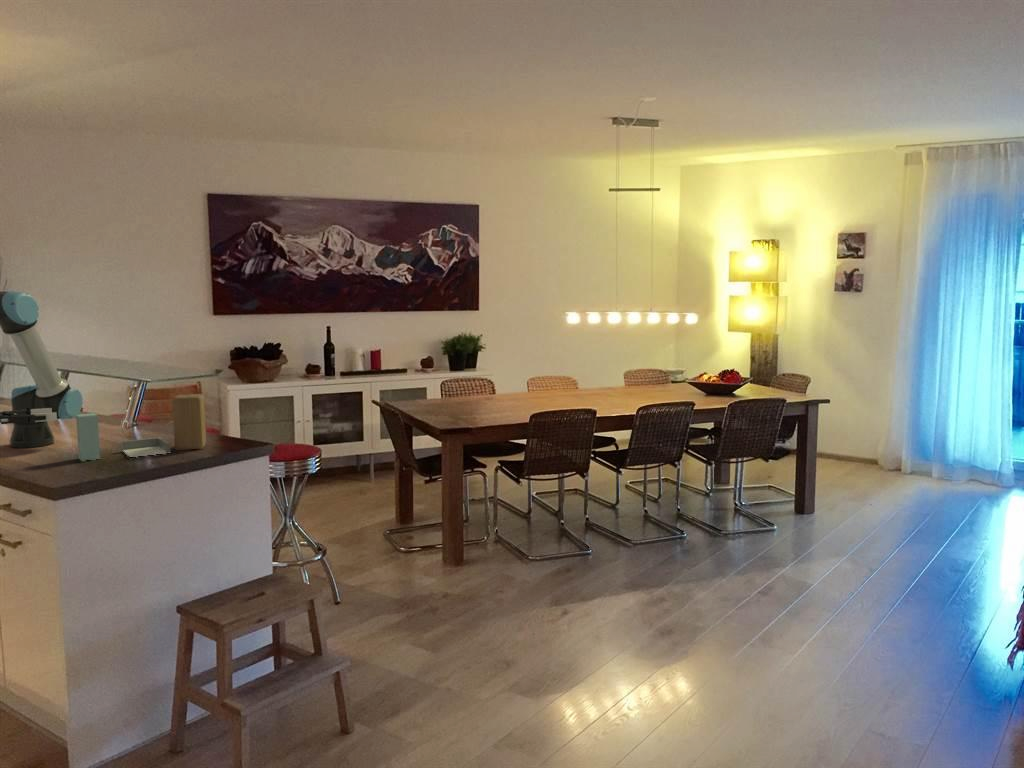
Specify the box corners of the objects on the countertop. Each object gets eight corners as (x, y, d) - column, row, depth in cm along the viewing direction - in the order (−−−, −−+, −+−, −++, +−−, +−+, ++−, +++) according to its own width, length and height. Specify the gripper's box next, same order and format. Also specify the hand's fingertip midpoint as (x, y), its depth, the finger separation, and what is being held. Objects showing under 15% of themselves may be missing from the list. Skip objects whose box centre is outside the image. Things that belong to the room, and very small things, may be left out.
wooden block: (174, 450, 319) (171, 397, 317) (179, 445, 329) (176, 394, 326) (202, 449, 321) (200, 397, 319) (206, 444, 331) (204, 393, 328)
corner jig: (122, 451, 318) (121, 441, 317) (161, 447, 326) (161, 437, 325) (129, 458, 306) (128, 447, 306) (170, 453, 314) (169, 442, 314)
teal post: (79, 458, 306) (76, 414, 304) (97, 456, 310) (94, 413, 308) (81, 461, 301) (78, 416, 299) (100, 459, 305) (97, 415, 303)
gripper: (-19, 425, 296) (50, 420, 308) (-15, 435, 275) (59, 429, 287) (-21, 404, 295) (49, 399, 307) (-17, 412, 275) (58, 407, 287)
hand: (54, 414), depth 297 cm, fingers open, 13 cm apart
